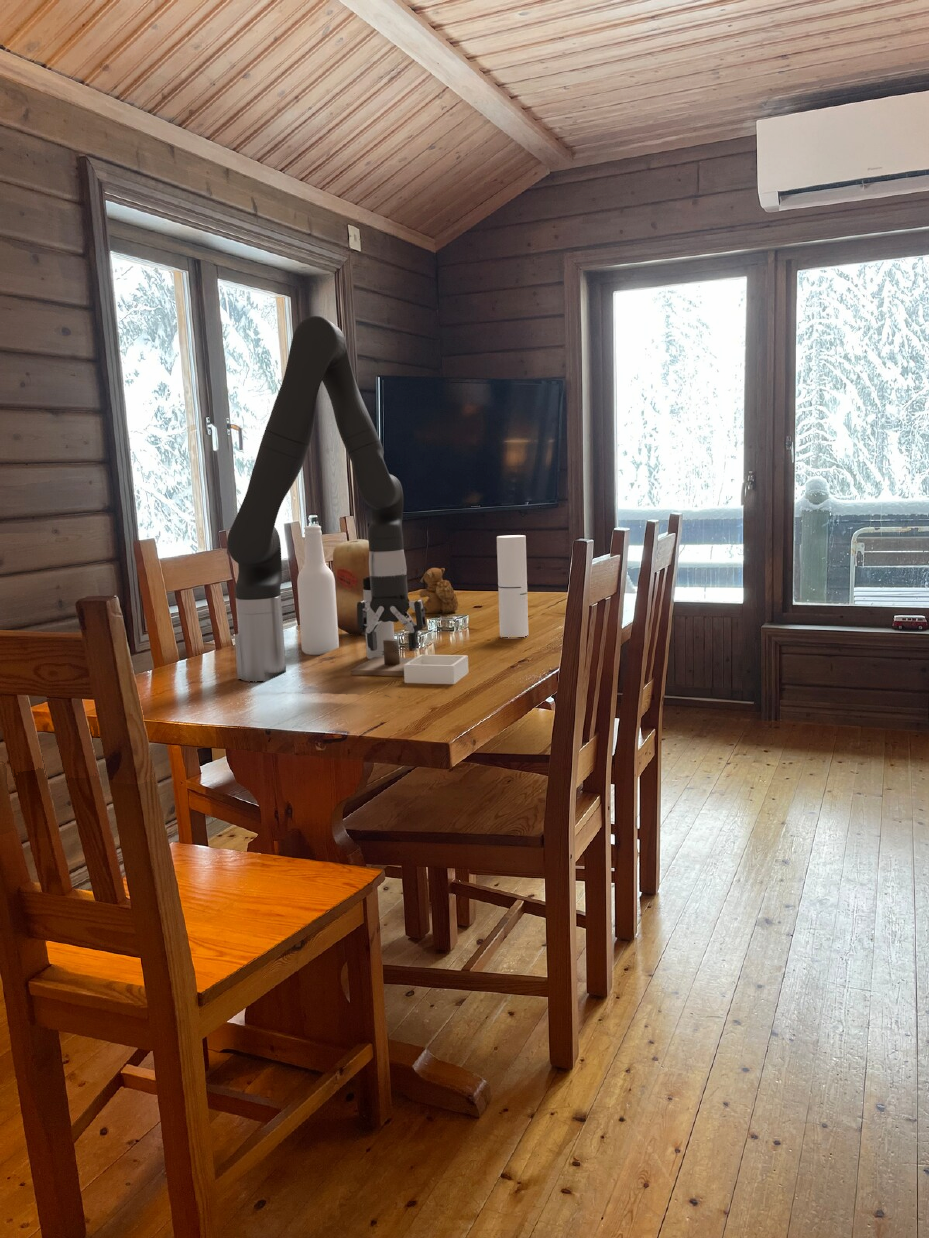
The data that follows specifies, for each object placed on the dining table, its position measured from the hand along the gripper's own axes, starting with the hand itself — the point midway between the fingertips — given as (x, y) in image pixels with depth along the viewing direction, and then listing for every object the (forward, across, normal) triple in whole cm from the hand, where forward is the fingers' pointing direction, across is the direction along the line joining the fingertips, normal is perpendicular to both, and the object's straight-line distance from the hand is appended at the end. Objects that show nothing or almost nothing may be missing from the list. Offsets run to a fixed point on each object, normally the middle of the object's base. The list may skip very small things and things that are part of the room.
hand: (393, 650), depth 192 cm
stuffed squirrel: (+6, -16, +85) cm, 87 cm away
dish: (+6, +12, -7) cm, 15 cm away
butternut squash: (+5, -26, +45) cm, 52 cm away
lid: (+4, 0, 0) cm, 4 cm away
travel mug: (+6, -7, +12) cm, 15 cm away
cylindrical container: (+6, +15, +47) cm, 49 cm away
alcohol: (+5, -27, +23) cm, 36 cm away
